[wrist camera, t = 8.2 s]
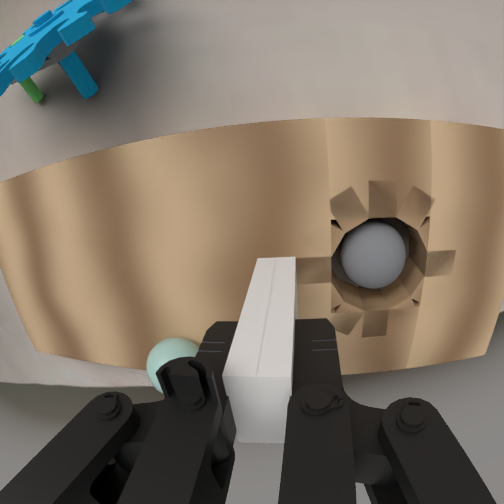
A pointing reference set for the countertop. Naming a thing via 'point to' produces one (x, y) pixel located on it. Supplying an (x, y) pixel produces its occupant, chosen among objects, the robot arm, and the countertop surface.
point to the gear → (54, 46)
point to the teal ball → (168, 355)
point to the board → (260, 237)
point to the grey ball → (373, 254)
